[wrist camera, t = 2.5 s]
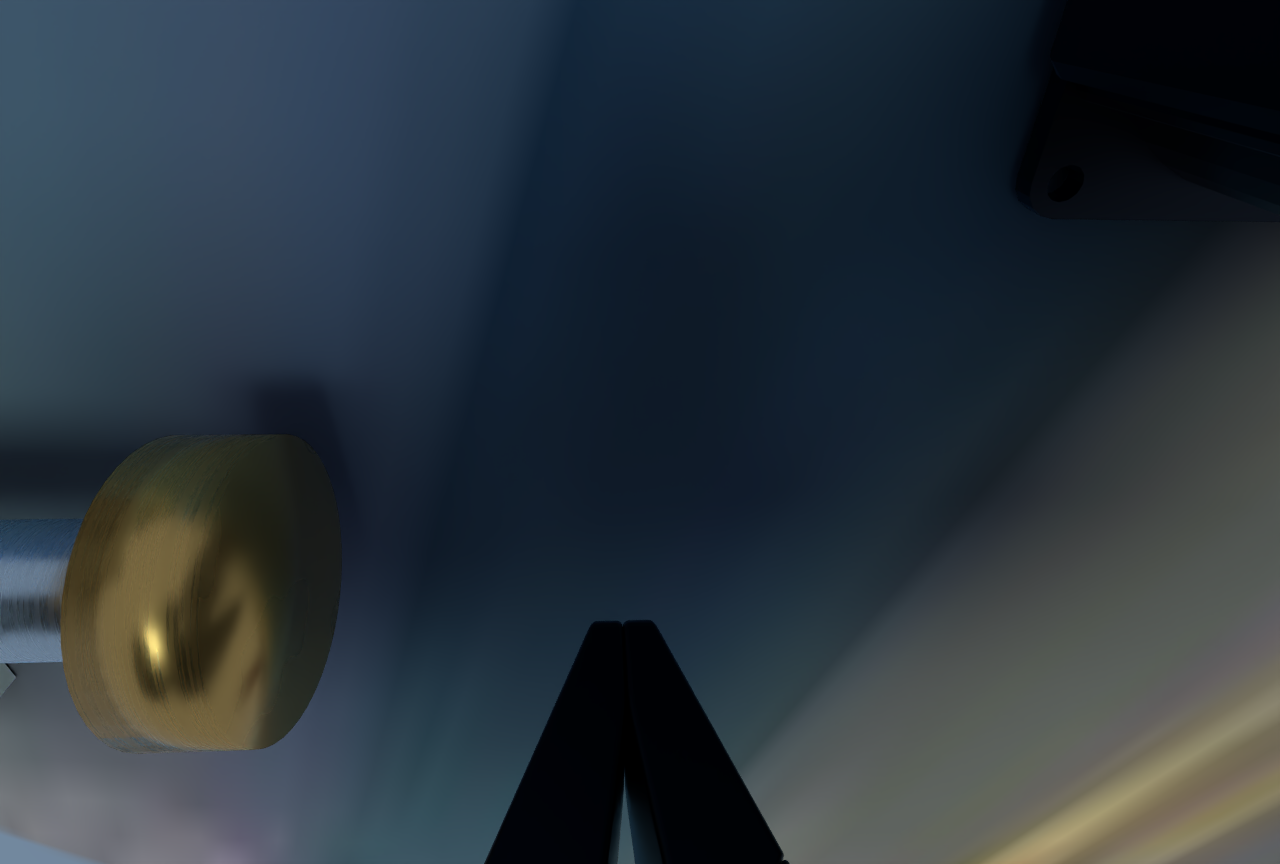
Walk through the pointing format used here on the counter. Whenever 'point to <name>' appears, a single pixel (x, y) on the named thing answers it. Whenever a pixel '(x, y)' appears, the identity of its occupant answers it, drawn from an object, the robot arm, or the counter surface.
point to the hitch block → (5, 678)
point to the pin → (184, 593)
